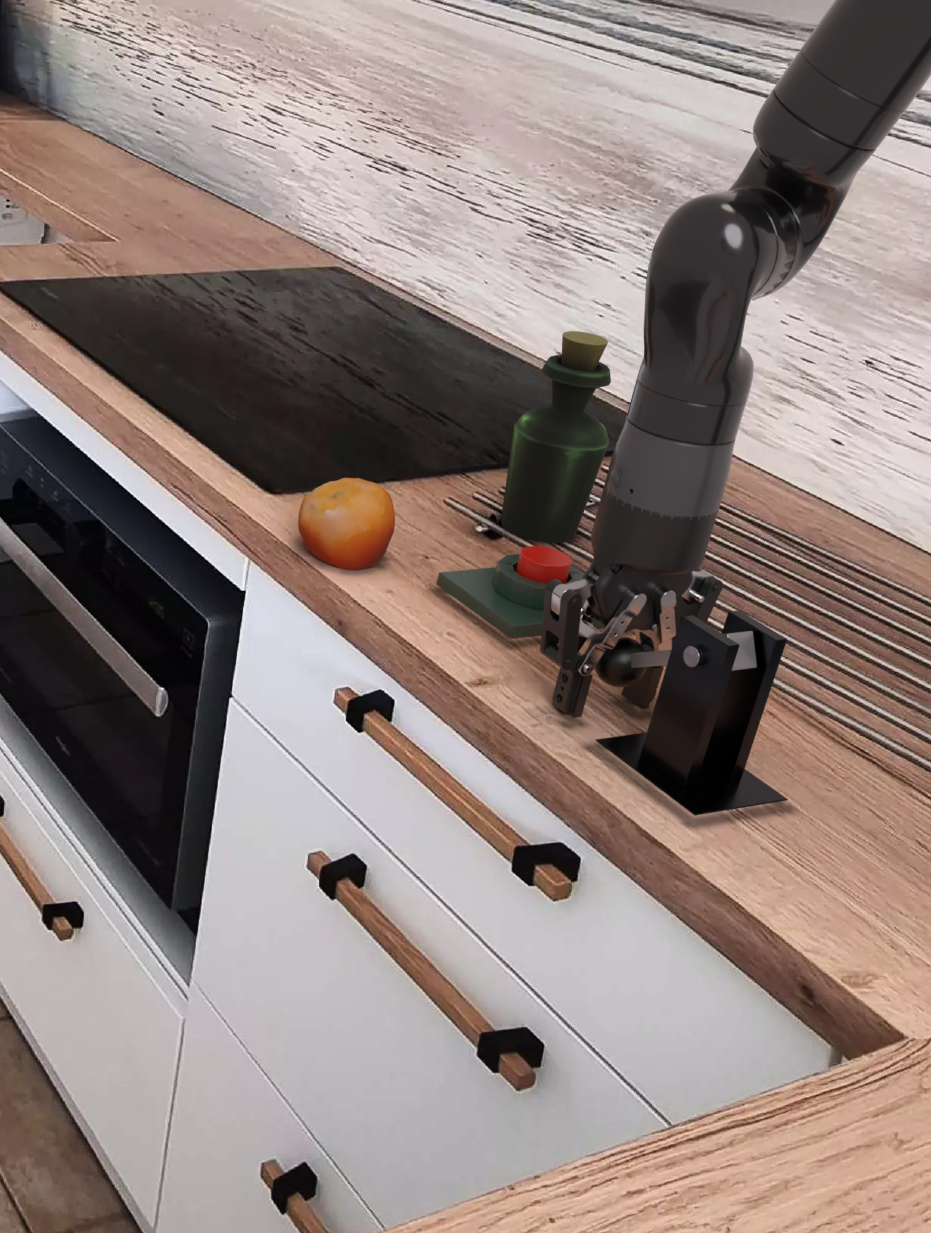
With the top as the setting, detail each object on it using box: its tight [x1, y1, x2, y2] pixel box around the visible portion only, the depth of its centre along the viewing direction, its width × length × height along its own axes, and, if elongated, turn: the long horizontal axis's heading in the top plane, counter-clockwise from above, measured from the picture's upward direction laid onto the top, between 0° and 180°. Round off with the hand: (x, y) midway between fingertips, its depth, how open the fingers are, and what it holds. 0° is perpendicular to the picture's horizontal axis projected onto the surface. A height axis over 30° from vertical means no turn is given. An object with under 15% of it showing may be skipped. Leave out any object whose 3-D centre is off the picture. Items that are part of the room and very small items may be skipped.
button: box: [516, 545, 573, 583], centre depth 141 cm, size 4×4×2 cm
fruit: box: [297, 477, 396, 571], centre depth 148 cm, size 8×8×8 cm
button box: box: [436, 553, 606, 640], centre depth 142 cm, size 12×10×4 cm
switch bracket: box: [595, 609, 789, 816], centre depth 118 cm, size 10×8×12 cm
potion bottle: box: [500, 330, 612, 544], centre depth 155 cm, size 8×8×18 cm
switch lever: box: [594, 631, 757, 688], centre depth 121 cm, size 13×4×4 cm, turn 22°
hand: (600, 709), depth 128 cm, fingers open, 5 cm apart
